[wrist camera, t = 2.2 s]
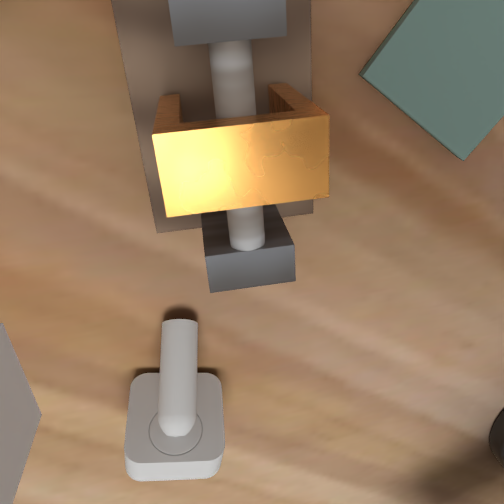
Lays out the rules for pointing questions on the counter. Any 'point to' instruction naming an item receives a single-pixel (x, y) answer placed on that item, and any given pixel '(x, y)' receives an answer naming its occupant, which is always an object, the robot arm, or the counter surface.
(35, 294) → the counter surface
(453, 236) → the counter surface
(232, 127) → the orange notched block
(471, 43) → the mat
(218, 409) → the white joystick
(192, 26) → the crossbar stand
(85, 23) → the counter surface
